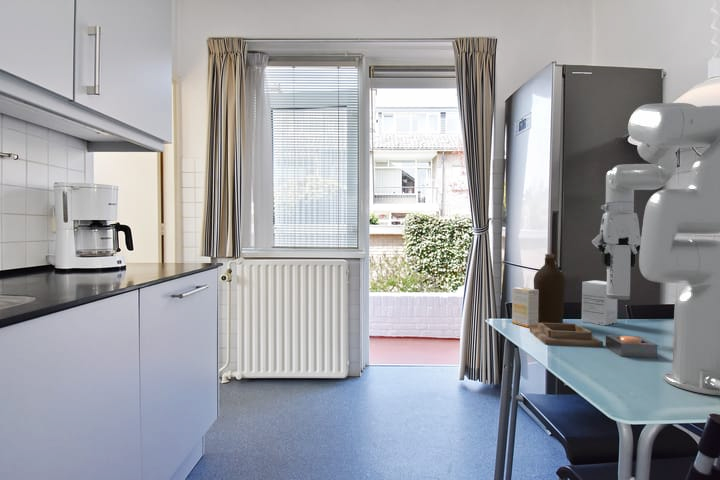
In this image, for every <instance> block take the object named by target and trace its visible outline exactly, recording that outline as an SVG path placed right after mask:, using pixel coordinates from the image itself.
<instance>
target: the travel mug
mask: <svg viewBox="0 0 720 480" xmlns="http://www.w3.org/2000/svg"><path fill="white" fill-rule="evenodd" d="M618 242H619V243H618V244H616V245H611V248H610V250H609V254H610V266H606V282H607V298H610V299H617V301H618V300H622V301H626V300H627V301H628V300H630V299H631V267H630V264H631V248H630V247H631V245H629V243H628V242H629V237H625V238H619V239H618Z"/></svg>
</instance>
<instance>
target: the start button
mask: <svg viewBox="0 0 720 480" xmlns="http://www.w3.org/2000/svg"><path fill="white" fill-rule="evenodd" d="M619 336H620V340H621V341H623V342H633V343H641V339H640V338H637V337H632V336H633V335H619Z"/></svg>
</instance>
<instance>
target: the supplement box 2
mask: <svg viewBox="0 0 720 480" xmlns="http://www.w3.org/2000/svg"><path fill="white" fill-rule="evenodd" d="M581 284H582V285H581V286H582V287H581V292H582V293H581V322H583V323H584V322H585V323H589V324H593V323H594V324H595V325H599V324H600V325H599V326H605V325H607V326H610V325H613V324H612V323H614V324H616V323H618V299H610V298H607V281H605V280H594V279H593V280H588V281H582V283H581ZM609 324H610V325H609Z"/></svg>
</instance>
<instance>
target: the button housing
mask: <svg viewBox="0 0 720 480" xmlns="http://www.w3.org/2000/svg"><path fill="white" fill-rule="evenodd" d="M620 336H621V335H610V334H608V335H606V334H605V348H606V349H607V350H609V351H611V352H613V353H614V354H616V355H618V356H619V357H623V358H625V357H627V358H647V359H648V358H649V359H651V358H653V359H658V344H657V343H654V342H652V341H650V340H647V339H646V338H644V337H642V336H638V335H637V336H633V335H631V336H632V337H637V338H640V339H641V343H633V342H623V341H621V340H620Z"/></svg>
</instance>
